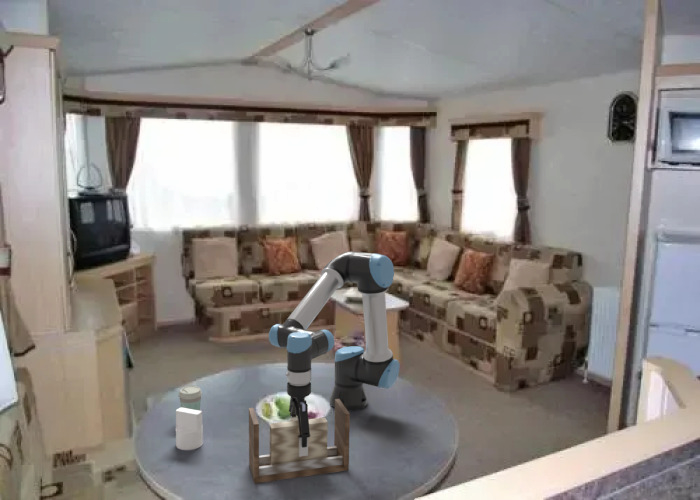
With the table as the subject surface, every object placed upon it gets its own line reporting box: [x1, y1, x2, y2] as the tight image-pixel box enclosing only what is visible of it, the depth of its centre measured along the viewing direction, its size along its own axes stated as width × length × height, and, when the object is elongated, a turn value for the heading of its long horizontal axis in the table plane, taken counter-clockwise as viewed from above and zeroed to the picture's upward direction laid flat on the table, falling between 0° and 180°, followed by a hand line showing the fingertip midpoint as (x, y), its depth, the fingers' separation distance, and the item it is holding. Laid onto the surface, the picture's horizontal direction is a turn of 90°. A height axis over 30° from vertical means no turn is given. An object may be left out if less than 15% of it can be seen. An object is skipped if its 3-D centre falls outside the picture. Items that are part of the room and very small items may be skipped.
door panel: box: [269, 417, 329, 465], centre depth 185 cm, size 18×4×14 cm, turn 107°
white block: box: [175, 406, 204, 451], centre depth 200 cm, size 9×9×12 cm
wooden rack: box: [248, 399, 351, 484], centre depth 185 cm, size 30×12×19 cm, turn 107°
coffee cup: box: [178, 385, 203, 411], centre depth 218 cm, size 8×8×12 cm
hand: (298, 445), depth 185 cm, fingers open, 13 cm apart
